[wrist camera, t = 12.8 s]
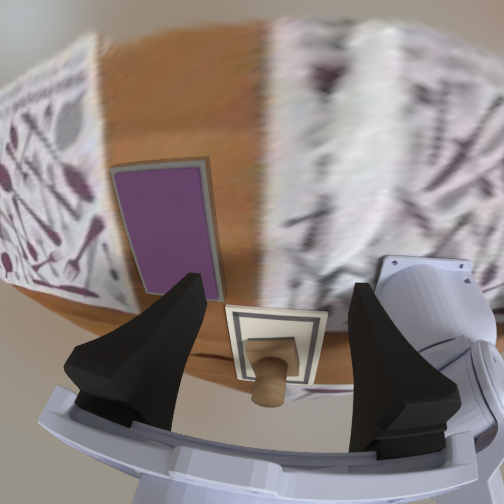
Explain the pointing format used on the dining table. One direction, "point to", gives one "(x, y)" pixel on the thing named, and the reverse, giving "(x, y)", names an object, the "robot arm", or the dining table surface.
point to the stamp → (272, 368)
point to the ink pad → (171, 222)
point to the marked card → (277, 325)
